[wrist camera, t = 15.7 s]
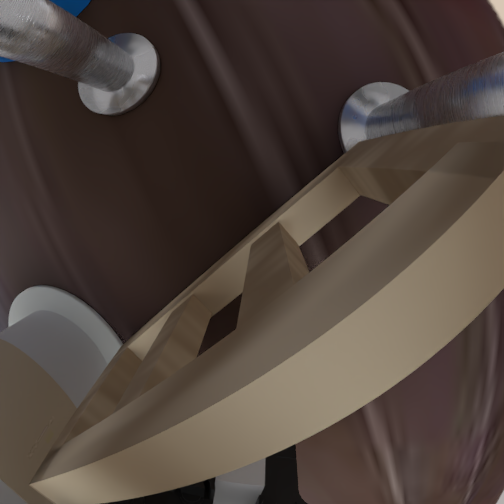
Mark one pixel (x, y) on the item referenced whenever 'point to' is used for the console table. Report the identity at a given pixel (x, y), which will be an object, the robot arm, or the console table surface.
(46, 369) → the coffee cup
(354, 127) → the hinge post
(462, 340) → the console table surface
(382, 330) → the gate
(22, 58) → the post
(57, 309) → the coaster
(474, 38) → the console table surface
